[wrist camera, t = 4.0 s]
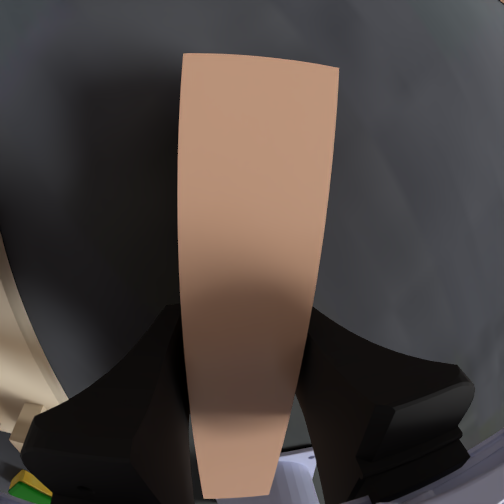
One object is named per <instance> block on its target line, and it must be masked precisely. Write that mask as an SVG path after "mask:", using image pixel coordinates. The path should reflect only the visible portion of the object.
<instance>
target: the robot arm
mask: <svg viewBox="0 0 504 504" xmlns="http://www.w3.org/2000/svg"><path fill="white" fill-rule="evenodd" d="M474 392H475V387H474V384H473V383H472V382H471V380H470V379H469V378H468V377H467V376H466V375H465V373H464V372H463V371H462V370H461V369H460V368H459V367H458V366H457V365H454V364H447V363H441V362H434V361H428V360H424V359H420V358H416V357H412V356H408V355H405V354H401V353H398V352H395V351H393V350H390V349H387V348H384V347H382V346H379V345H377V344H374V343H372V342H370V341H368V340H366V339H364V338H362V337H360V336H358V335H356V334H354V333H352V332H350V331H348V330H347V329H345V328H343V327H342V326H340V325H339V324H337V323H335V322H334V321H332V320H331V319H329V318H328V317H326V316H325V315H324V314H322V313H321V312H319V311H318V310H317V309H315V308H314V307H313V306H312V311H311V316H310V322H309V327H308V333H307V338H306V343H305V348H304V353H303V358H302V363H301V368H300V373H299V377H298V382H297V387H296V391H295V394H296V396H297V399H298V401H299V404H300V406H301V409H302V412H303V415H304V417H305V421H306V424H307V428H308V432H309V435H310V439H311V443H312V447H308V448H303V449H298V450H293V451H288V452H282V453H280V457H279V461H278V464H277V468H276V472H275V475H274V479H273V482H272V486H271V489H270V493H269V495H263V496H253V497H240V498H221V499H216V501H217V503H218V504H319V501H318V498H317V494H316V491H315V488H314V485H313V482H312V478H313V474H314V470H315V466H316V463H317V467H318V472H319V476H320V480H321V485H322V490H323V495H324V500H325V504H504V428H503V429H501V430H500V431H498V432H497V433H495V434H494V435H492V436H491V437H489V438H487V439H486V440H484V441H483V442H481V443H479V444H478V445H476V446H474V447H473V448H471V449H469V450H468V451H467V450H466V449H465V447H464V446H463V444H462V443H461V441H460V440H459V439H460V438H461V437H462V432H461V430H460V429H459V427H458V424H459V423H460V421H461V420H462V418H463V416H464V415H465V413H466V412H467V410H468V408H469V407H470V405H471V402H472V400H473V398H474ZM189 412H190V404H189V395H188V386H187V377H186V366H185V355H184V344H183V331H182V316H181V304H174V305H166V307H165V308H164V309H163V310H162V312H161V313H160V314H159V316H158V317H157V319H156V320H155V321H154V323H153V324H152V325H151V327H150V328H149V329H148V331H147V332H146V333H145V334H144V336H143V337H142V338H141V339H140V341H139V342H138V343H137V344H136V345H135V346H134V347H133V349H132V350H131V351H130V352H129V353H128V354H127V355H126V356H125V357H124V358H123V359H122V360H121V361H120V362H119V363H118V364H117V365H116V366H115V367H114V368H112V369H111V370H110V371H109V372H108V373H107V374H105V375H104V376H103V377H101V378H100V379H99V380H97V381H96V382H95V383H93V384H92V385H91V386H89V387H88V388H86V389H85V390H83V391H82V392H80V393H79V394H77V395H75V396H74V397H72V398H70V399H69V400H67V401H65V402H63V403H61V404H59V405H57V406H55V407H53V408H51V409H49V410H47V411H45V412H42V413H40V414H38V415H35V416H34V418H33V420H32V423H31V425H30V428H29V430H28V433H27V435H26V438H25V441H24V443H23V446H22V449H21V453H20V457H21V459H22V461H23V463H24V465H25V467H26V468H27V469H28V470H29V471H30V472H31V473H32V474H33V475H34V476H35V477H36V478H37V479H38V480H39V481H40V482H41V483H42V484H43V485H44V486H46V487H47V488H48V489H49V490H50V491H51V492H52V498H51V503H50V504H195V503H194V495H193V486H192V476H191V464H190V450H189ZM0 504H35V503H32V502H29V501H26V500H23V499H20V498H17V497H14V496H11V495H8V494H6V493H3V492H0Z"/></svg>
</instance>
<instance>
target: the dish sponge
mask: <svg viewBox="0 0 504 504" xmlns="http://www.w3.org/2000/svg"><path fill="white" fill-rule="evenodd" d="M8 492H9V493H10V494H11V495H12V496H14V497H17V498H20V499H23V500H26V501H29V502H32V503H35V504H50V503H51V498H52V492H51V491H50V490H49V489H48V488H47V487H46V486H44V485H43V484H42V483H41V482H40V481H39V480H38V479H37V478H36V477H35V476H34V475H33V474H31V473H29V472H27V471H26V470H21V471H20V472H19V473H18V474H17V475H16V476H15V477H14V478H13V479H12V481H11V484H10V489H9V491H8Z"/></svg>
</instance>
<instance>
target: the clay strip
mask: <svg viewBox="0 0 504 504" xmlns="http://www.w3.org/2000/svg"><path fill="white" fill-rule="evenodd" d="M338 79H339V68H336V67H331V66H325V65H320V64H314V63H308V62H301V61H294V60H287V59H279V58H270V57H260V56H248V55H232V54H202V53H184V54H183V64H182V78H181V93H180V112H179V136H178V255H179V281H180V300H181V316H182V331H183V344H184V355H185V366H186V377H187V386H188V395H189V404H190V412H191V420H192V428H193V436H194V443H195V450H196V456H197V463H198V469H199V475H200V481H201V487H202V492H203V498H204V499H221V498H240V497H253V496H263V495H269V493H270V489H271V486H272V482H273V479H274V475H275V472H276V468H277V464H278V461H279V457H280V453H281V449H282V445H283V441H284V437H285V433H286V429H287V425H288V421H289V417H290V413H291V409H292V404H293V400H294V396H295V391H296V387H297V382H298V377H299V373H300V368H301V363H302V358H303V353H304V348H305V343H306V338H307V333H308V327H309V322H310V316H311V311H312V305H313V299H314V294H315V288H316V281H317V275H318V269H319V262H320V256H321V249H322V242H323V235H324V227H325V220H326V212H327V204H328V196H329V187H330V178H331V168H332V158H333V148H334V137H335V124H336V111H337V96H338Z"/></svg>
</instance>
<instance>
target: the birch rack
mask: <svg viewBox="0 0 504 504" xmlns="http://www.w3.org/2000/svg"><path fill="white" fill-rule="evenodd" d="M67 400H69V399H68V397H67V396H66V394H65V392H64V390H63V389H62V387H61V385H60V383H59V381H58V380H57V378H56V376H55V374H54V372H53V370H52V368H51V366H50V364H49V362H48V360H47V358H46V356H45V354H44V352H43V350H42V348H41V346H40V343H39V341H38V339H37V337H36V335H35V332H34V330H33V328H32V325H31V323H30V321H29V318H28V316H27V313H26V311H25V308H24V306H23V303H22V300H21V298H20V295H19V292H18V289H17V286H16V283H15V280H14V277H13V274H12V271H11V268H10V265H9V262H8V258H7V255H6V251H5V248H4V244H3V240H2V237H1V233H0V431H4V432H8V433H11V436H10V438H9V440H10V442H11V443H12V444H13V445H14V446H15V447H16V449H17V450H18V451H19V452H20V453H21V449H22V446H23V443H24V441H25V438H26V435H27V433H28V430H29V428H30V425H31V423H32V420H33V418H34V416H35V415H38V414H40V413H42V412H45V411H47V410H49V409H51V408H53V407H55V406H57V405H59V404H61V403H63V402H65V401H67Z"/></svg>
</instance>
